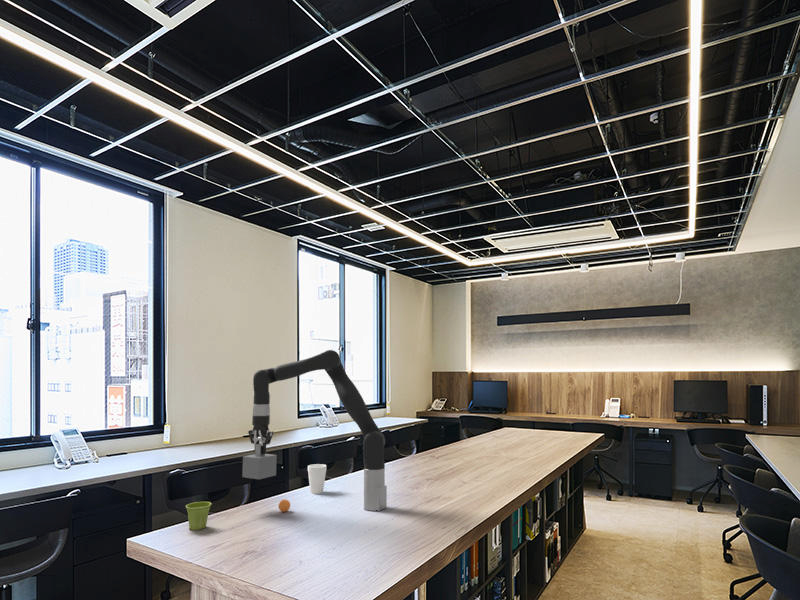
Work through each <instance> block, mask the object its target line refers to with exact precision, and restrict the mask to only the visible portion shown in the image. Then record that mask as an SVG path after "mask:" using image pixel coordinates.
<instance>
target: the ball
mask: <svg viewBox="0 0 800 600" xmlns="http://www.w3.org/2000/svg"><path fill="white" fill-rule="evenodd" d="M278 509H279V511H281V512H283V513H285V512H288V511H289V510H290V509H291V502H290V501H289V500H288V499H282V500H281V501H279V503H278Z"/></svg>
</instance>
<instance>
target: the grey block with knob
mask: <svg viewBox="0 0 800 600" xmlns="http://www.w3.org/2000/svg"><path fill="white" fill-rule="evenodd" d="M254 449H255V452H254V454H249V455H244V456H243V455H242V471H241V472H242V475H241V477H242V478H246V479H253V480H262V479H266V478H271V477H275V476H277V456H278V455H277V454H270V453H265V454H263V455H262V454H261V443H260V444H255V445H254Z"/></svg>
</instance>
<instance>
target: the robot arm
mask: <svg viewBox="0 0 800 600" xmlns="http://www.w3.org/2000/svg"><path fill="white" fill-rule="evenodd" d="M321 370H324V371H325V372H326V374H327V375H328V377H329V378H330V379H331V381H332V383H333V385H334V388H335V391H336V393H337V395H338V398H339V399H340V400H339V401H341V404H342V405H343V407H344V409H345V411H346V413H347V415H349V417H350V418H351V419H352V420H353V421H354V423H355V424H356V425H357V426H358V428H359V430H360V432H361V434H362V436H363V440H362V441H363V444H362V452H363V453H362V455H363V458H362V460H363V509H364V510H365V511H369V510H370V511H371V512H380V511H383V510H385V509H387V505H388V502H387V499H388V498H387V497H388V496H387V495H388V491H387V485H386V481H385V474H386V473H385V470H386V467H385V444H386V437H385V435H384V433H383V432H382V431H381V429H380V427H378V425H377V423H375V421H374V419H373V417H372V415H371V413H370V411H369V408H368V406H367V404H366V403H365V400H364V398H363V397H362V395H361V393H360V391H359V389H358V388H357V387H356V384H354V382H353V381H352V380H351V379H350V377H349V376H348V374H347V373H346V370H345V368H344V366H343V364H342V361H341V357H340V354H339V353H338V352H337V351H336V350H334V349H328V350H325V351H323V352H320V353H319V354H317V355H314V356H311V357H308V358H305V359H301V360H295V361H292V362H287V363H283V364H279V365H277V366H275V367H270V368H265V369H259V370H257V371H256V372H254V375H253V378H252V379H253V381H252V385H253V407H252V423H251V425H252V426H253V427H252V429H250V430H248V431H247V432H248V436H249V441H250V443H251V444H253V445H254V446H255V444H261V454H262V455H263V454H267V445H270V444H271V440H272V438H273V435H274V431H271V430H270V429H269V425H270V422H271V407H270V404H271V403H270V402H271V401H270V400H271V394H270V392H269V390H270V389H269V388H270V384H272V383H277V382H281V381H285V380H290V379H293V378H296V377H299V376H302V375H305V374H307V373H311V372H315V371H321ZM253 451H254V453H255V448H254V450H253ZM384 508H385V509H384ZM382 509H383V510H382ZM376 510H377V511H376ZM370 511H369V512H370Z"/></svg>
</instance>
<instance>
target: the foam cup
mask: <svg viewBox="0 0 800 600" xmlns="http://www.w3.org/2000/svg"><path fill="white" fill-rule="evenodd" d="M307 472H308V483H309V493H310V494H311V493H312V495H319V494H320V493H321V494H324V488H325V483H326V482H325V480H326V474H327V464H324V463H322V464H320V463H316V464H315V463H314V464H309V465H307Z"/></svg>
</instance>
